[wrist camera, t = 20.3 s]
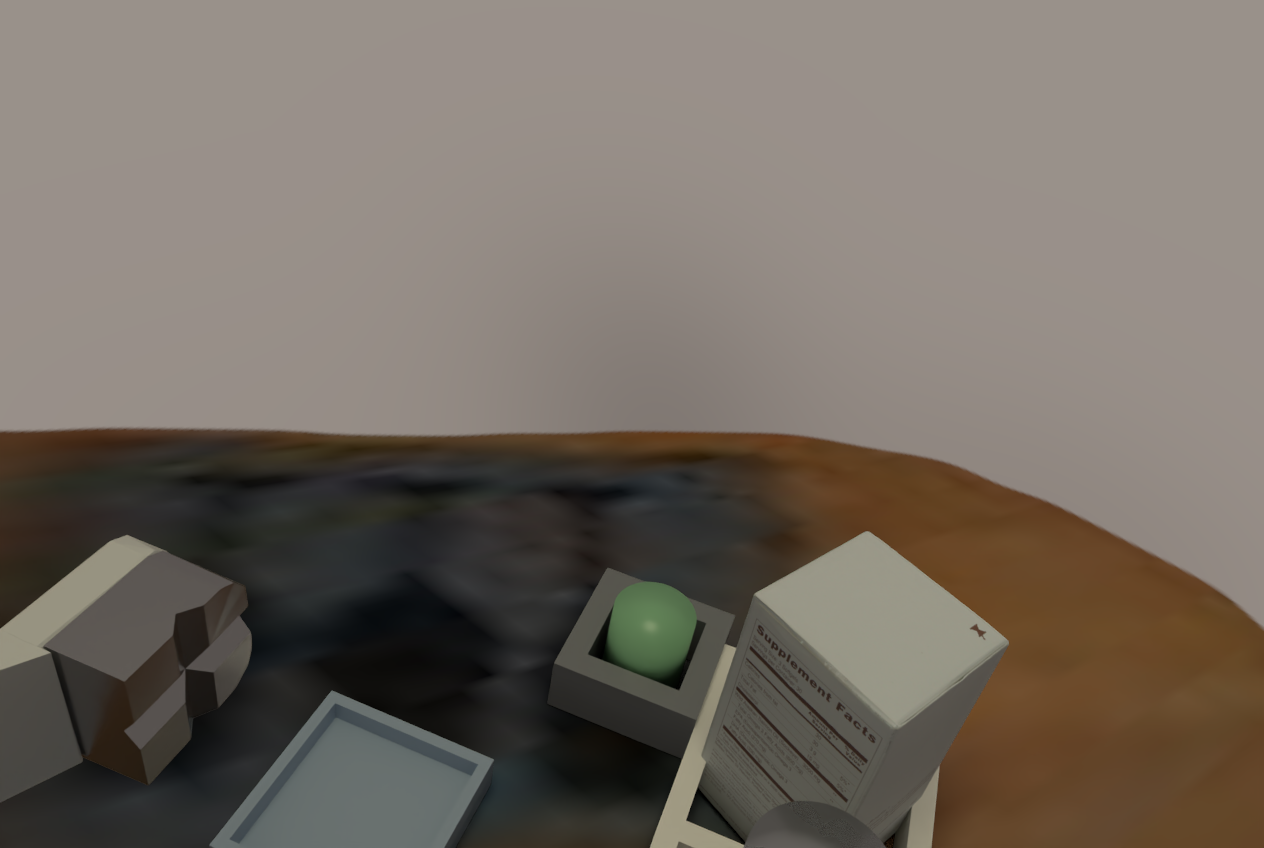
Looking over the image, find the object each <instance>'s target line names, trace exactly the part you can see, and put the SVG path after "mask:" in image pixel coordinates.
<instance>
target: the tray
mask: <svg viewBox="0 0 1264 848" xmlns="http://www.w3.org/2000/svg"><path fill="white" fill-rule="evenodd" d="M493 764H494V759H491V758H489V757H487V756H484V755H482V754H479V753H477V752H475V751H472V750H470V749H468V748H465V747H463V746H461V745H458V744H456V743H454V742H451V741H449V740H447V739H444V738H442V737H440V736H437V735H435V734H433V733H430V732H428V731H425V730H423V729H421V728H418V727H416V726H414V725H411V724H409V723H407V722H404V721H402V720H400V719H397V718H395V717H393V716H390V715H388V714H386V713H383V712H381V711H379V710H376V709H374V708H371V707H369V706H367V705H364V704H362V703H360V702H357V701H355V700H353V699H350V698H348V697H346V696H343V695H341V694H339V693H336V692H334V691H331V692H330V693H329V695H328V696H327V697H326V699H325V700H324V701H323V702H322V704H321V705H320V706H319V707H318V709H317V710H316V711H315V712H314V714H313V715H312V716H311V717H310V719H309V720H308V721H307V723H306V724H305V725H304V726H303V728H302V729H301V730H300V731H299V733H298V734H297V735H296V736H295V738H294V739H293V740H292V741H291V743H290V744H289V745H288V746H287V748H286V749H285V750H284V752H283V753H282V754H281V755H280V757H279V758H278V759H277V760H276V762H275V763H274V764H273V765H272V767H271V768H270V769H269V770H268V772H267V773H266V774H265V775H264V777H263V778H262V779H261V781H260V782H259V783H258V784H257V786H256V787H255V788H254V789H253V791H252V792H251V793H250V794H249V796H248V797H247V798H246V799H245V801H244V802H243V803H242V805H241V806H240V807H239V808H238V810H237V811H236V812H235V813H234V815H233V816H232V817H231V818H230V820H229V821H228V822H227V823H226V825H225V826H224V827H223V828H222V830H221V831H220V832H219V834H218V835H217V836H216V837H215V839H214V840H213V841H212V842H211V844H210V845H209V847H210V848H456V846H457V844H458V842H459V841H460V839H461V837H462V835H463V833H464V832H465V830H466V828H467V826H468V824H469V823H470V821H471V819H472V817H473V815H474V814H475V812H476V810H477V808H478V806H479V805H480V803H481V801H482V799H483V797H484V796H485V794H486V792H487V790H488V788H489V787H490V785H491V780H492V772H493Z"/></svg>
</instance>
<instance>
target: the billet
mask: <svg viewBox="0 0 1264 848" xmlns="http://www.w3.org/2000/svg"><path fill="white" fill-rule="evenodd" d="M743 848H886V847H885V845H884V844H883V843H882V841H881V840H880V839H879V838H878V837H877V836H876V835H875V833H874V832H873V831H872V830H871V829H869V828H868V827H867V826H866V825H865V824H864V823H862V822H861V821H860V820H858V819H857V818H856V817H854V816H852V815H851V814H849V813H847V812H845V811H843V810H841V809H839V808H837V807H834V806H831V805H828V804H824V803H820V802H813V801H795V802H788V803H785V804H782V805H779V806H777V807H775V808H773V809H771V810H769V811H768V812H766V813H765V814H764V815H763V816H762V817H761V818H760V819H759V820H758V821H757V822H756V824H755V825H754V826H753V828H752V830H751V832H750V833H749V836H748V838H747V840H746V843H745V845H744V847H743Z"/></svg>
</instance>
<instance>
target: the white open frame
mask: <svg viewBox="0 0 1264 848" xmlns="http://www.w3.org/2000/svg"><path fill="white" fill-rule="evenodd" d="M735 651H736V648H734V647H732V646H729V645H726V644H725V645H724V648H723V651H722V654H721V656H720V659H719V662H718V664H717V667H716V670H715V673H714V675H713V678H712V681H711V683H710V686H709V689H708V692H707V694H706V697H705V700H704V702H703V705H702V708H701V710H700V713H699V716H698V719H697V721H696V724H695V727H694V729H693V732H692V735H691V738H690V740H689V743H688V746H687V748H686V751H685V754H684V756H683V759H682V762H681V765H680V767H679V770H678V773H677V775H676V778H675V781H674V784H673V786H672V789H671V792H670V794H669V797H668V800H667V802H666V805H665V808H664V811H663V813H662V816H661V819H660V821H659V824H658V827H657V830H656V832H655V835H654V838H653V840H652V843H651V846H650V848H743V847H744V845H743V844H740V843H738V842H736V841H733V840H731V839H728V838H726V837H724V836H721V835H719V834H717V833H714V832H712V831H710V830H707V829H705V828H702V827H700V826H698V825H695V824H693V823H691V822H688V821H686V819H687V816H688V813H689V810H690V807H691V804H692V801H693V799H694V796H695V793H696V790H697V787H698V784H699V781H700V778H701V775H702V772H703V769H704V767H705V764H706V761H705V760H704V759H703V758H702V756H701V754H702V751H703V748H704V745H705V742H706V739H707V736H708V733H709V729H710V726H711V723H712V720H713V717H714V714H715V711H716V708H717V705H718V702H719V699H720V696H721V693H722V690H723V687H724V684H725V681H726V678H727V674H728V672H729V669H730V666H731V663H732V660H733V657H734V654H735ZM939 766H940V765H939ZM938 776H939V767H938V769H937V770H936V772H935V774H934V775H933V777H932V779H931V781H930V782H929V784H928V786H927V788H926V790H925V791H924V793H923V795H922V797H921V798H920V799H919V800H918V801H917V802H916V803H915V804H914V805H913V806H912V807H911V809H910V811H909V812H908V814H907V816H906V818H905V819H904V821H903V823H902V825H901V826H900V828H899V830H898V831H897V832H895V837H894V844H893V848H931V846H932V836H933V826H934V816H935V806H936V796H937V786H938Z"/></svg>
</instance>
